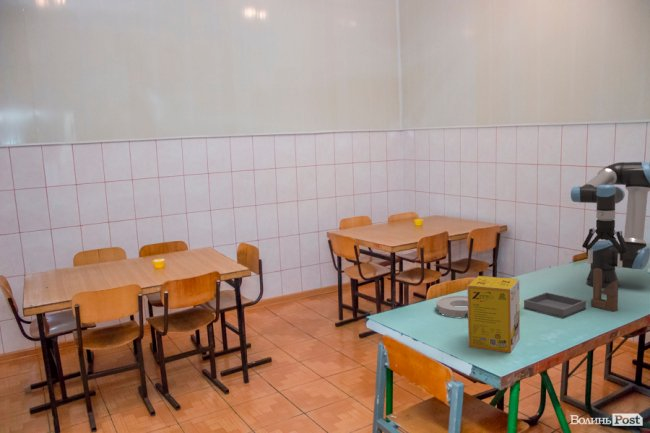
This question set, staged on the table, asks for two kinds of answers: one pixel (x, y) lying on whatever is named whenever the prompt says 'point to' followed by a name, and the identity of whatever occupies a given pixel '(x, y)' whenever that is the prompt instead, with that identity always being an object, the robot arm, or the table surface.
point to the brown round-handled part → (609, 291)
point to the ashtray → (453, 306)
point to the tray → (555, 305)
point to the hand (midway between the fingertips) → (604, 265)
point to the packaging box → (493, 313)
